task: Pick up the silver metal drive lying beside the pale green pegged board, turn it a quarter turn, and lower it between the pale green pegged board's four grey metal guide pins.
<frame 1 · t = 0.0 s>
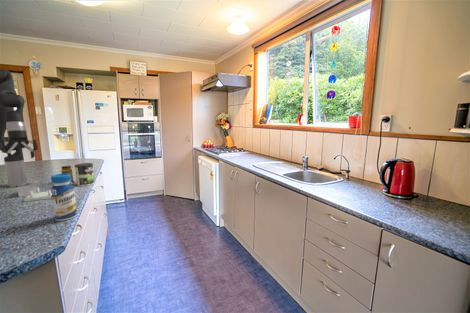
hand: (22, 159, 120), 22 cm above the worktop, tool pointing down, fingers open, 8 cm apart
pale green pegged board: (44, 196, 124), on the worktop
coffee can: (86, 184, 149), on the worktop
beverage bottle: (66, 217, 98), on the worktop
drive: (29, 193, 130), on the worktop
condiment: (69, 182, 154), on the worktop
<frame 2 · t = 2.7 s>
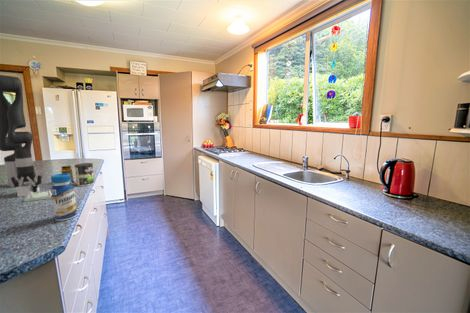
hand: (29, 192, 130), 1 cm above the worktop, tool pointing down, fingers closed on drive, 5 cm apart
drive: (29, 193, 130), on the worktop, touching gripper
everything else where it was.
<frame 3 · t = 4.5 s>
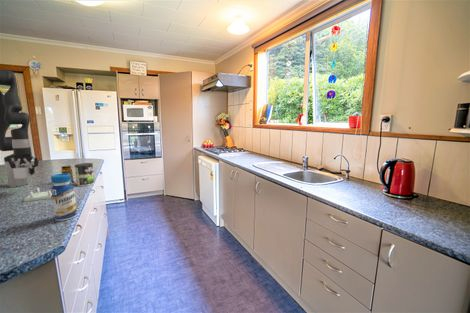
hand: (26, 174, 128), 12 cm above the worktop, tool pointing down, fingers closed on drive, 5 cm apart
drive: (26, 175, 128), point 11 cm above the worktop, touching gripper
everything else where it was.
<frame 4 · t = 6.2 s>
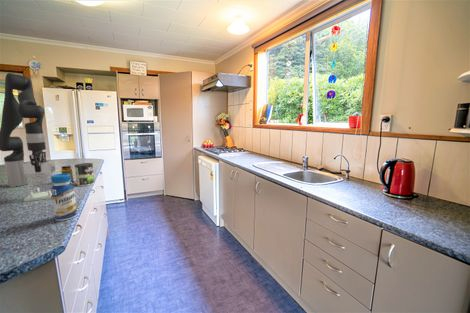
hand: (40, 171, 122), 15 cm above the worktop, tool pointing down, fingers closed on drive, 5 cm apart
drive: (40, 172, 122), point 15 cm above the worktop, touching gripper
everything else where it was.
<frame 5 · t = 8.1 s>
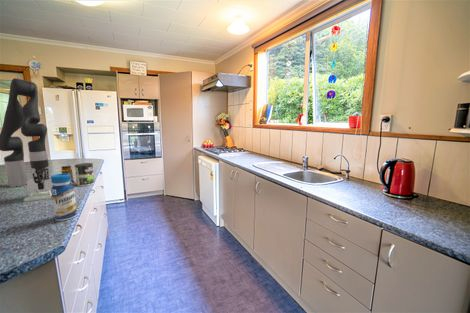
hand: (43, 187, 123), 5 cm above the worktop, tool pointing down, fingers closed on drive, 5 cm apart
drive: (43, 189, 124), point 5 cm above the worktop, touching gripper
everything else where it was.
when the fingers open (4 cm above the worktop, at t = 9.7 s): drive drops 1 cm, resting on pale green pegged board.
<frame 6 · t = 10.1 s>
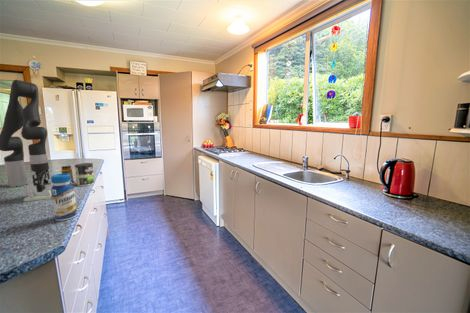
hand: (43, 189, 124), 4 cm above the worktop, tool pointing down, fingers open, 8 cm apart
drive: (43, 194, 124), point 1 cm above the worktop, touching pale green pegged board
everything else where it was.
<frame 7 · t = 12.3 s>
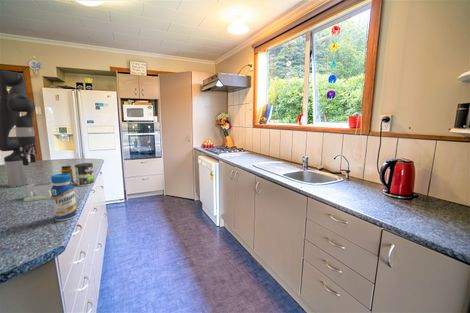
hand: (29, 163, 122), 19 cm above the worktop, tool pointing down, fingers open, 8 cm apart
nothing on the worktop moved.
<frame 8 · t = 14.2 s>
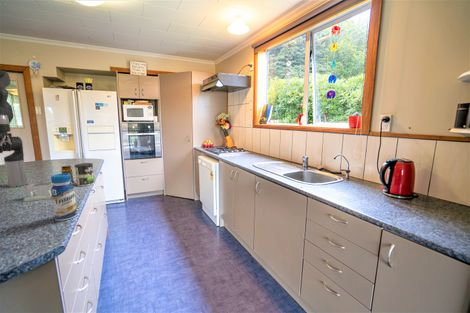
hand: (4, 152, 121), 26 cm above the worktop, tool pointing down, fingers open, 8 cm apart
nothing on the worktop moved.
at the end: drive 0.0 cm off-centre on the pale green pegged board, point 1.5 cm above the pale green pegged board's base; drive tilted 0°; the gripper is holding nothing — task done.
